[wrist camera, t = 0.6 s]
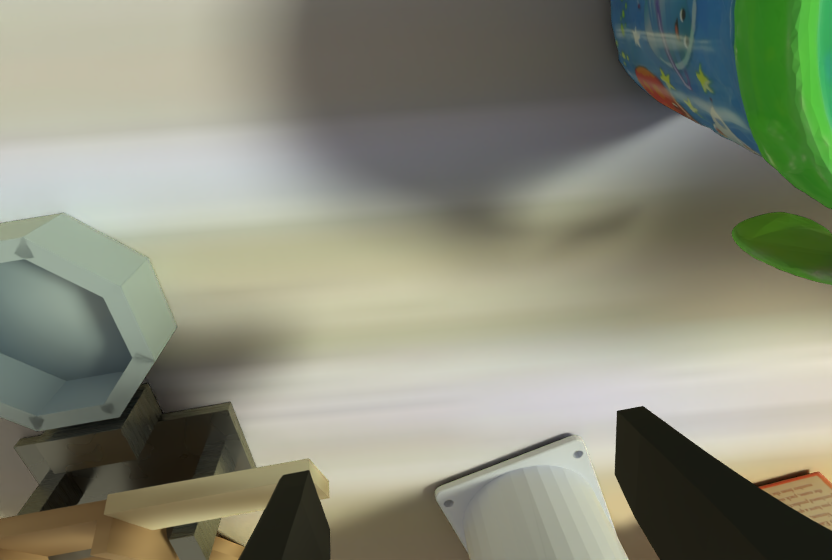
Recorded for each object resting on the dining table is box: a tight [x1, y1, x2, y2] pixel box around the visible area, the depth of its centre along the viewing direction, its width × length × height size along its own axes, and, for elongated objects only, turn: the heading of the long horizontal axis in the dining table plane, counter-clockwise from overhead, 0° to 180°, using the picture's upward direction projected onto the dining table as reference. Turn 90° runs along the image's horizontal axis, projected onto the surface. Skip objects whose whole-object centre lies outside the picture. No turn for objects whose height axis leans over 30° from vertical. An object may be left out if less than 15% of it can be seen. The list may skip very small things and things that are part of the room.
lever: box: [0, 458, 329, 560], centre depth 20 cm, size 12×12×3 cm
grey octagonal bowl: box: [0, 213, 177, 432], centre depth 18 cm, size 7×7×2 cm
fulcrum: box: [14, 384, 256, 560], centre depth 20 cm, size 7×9×5 cm
